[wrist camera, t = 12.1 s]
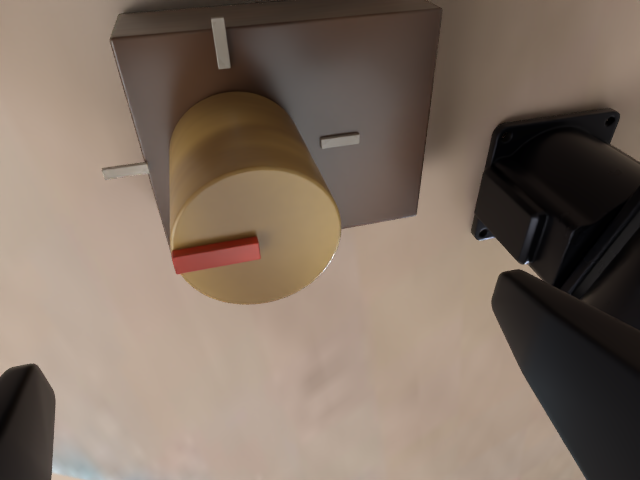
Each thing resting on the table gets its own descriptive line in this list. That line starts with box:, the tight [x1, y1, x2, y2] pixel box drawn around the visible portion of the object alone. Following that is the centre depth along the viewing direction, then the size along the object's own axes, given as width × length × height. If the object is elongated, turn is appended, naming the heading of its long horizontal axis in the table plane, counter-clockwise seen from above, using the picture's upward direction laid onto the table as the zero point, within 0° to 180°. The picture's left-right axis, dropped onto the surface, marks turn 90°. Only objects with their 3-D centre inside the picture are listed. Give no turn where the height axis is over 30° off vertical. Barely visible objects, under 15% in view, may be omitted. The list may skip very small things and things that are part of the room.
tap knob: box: [169, 91, 341, 305], centre depth 14 cm, size 4×4×5 cm
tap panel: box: [102, 0, 442, 251], centre depth 17 cm, size 11×9×3 cm
